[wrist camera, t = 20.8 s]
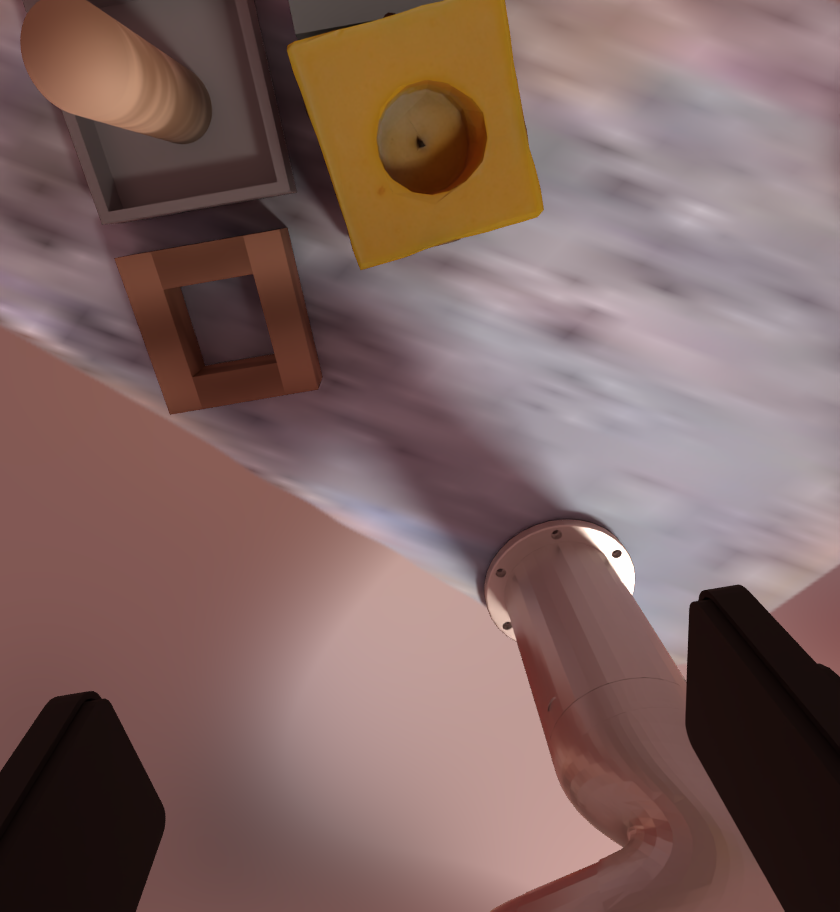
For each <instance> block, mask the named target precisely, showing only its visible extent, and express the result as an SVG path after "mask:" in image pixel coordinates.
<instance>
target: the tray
mask: <svg viewBox="0 0 840 912" xmlns="http://www.w3.org/2000/svg"><path fill="white" fill-rule="evenodd" d="M22 1H23V4H24V7H25V9H26V12H27V13H28V12H29V10H30V9H31V8H32V7H33V6H34V5H35V4H36V3H37V2H38V1H40V0H22ZM86 1H88V2H90V3H92V4H93V5H94V6H96V7H97V8H99V9H100V10H102V11H103V12H105V13H106V14H108V15H109V16H111V17H112V18H114V19H115V20H117V21H118V22H119V23H121V24H122V25H124V26H125V27H127V28H128V29H130V30H131V31H133V32H134V33H136V34H137V35H139V36H140V37H142V38H143V39H145V40H146V41H147V42H149V43H150V44H152V45H153V46H155V47H156V48H158V49H159V50H161V51H162V52H164V53H165V54H167V55H168V56H170V57H171V58H173V59H174V60H175V61H177V62H178V63H180V64H181V65H183V66H184V67H186V68H187V69H189V70H190V71H192V72H193V73H194V74H195V75H197V76H198V77H199V79H200V80H201V81H202V82H203V84H204V85H205V87H206V89H207V91H208V93H209V96H210V99H211V104H212V118H211V122H210V125H209V127H208V129H207V131H206V133H205V134H204V135H203V136H202V137H201V138H200V139H198V140H197V141H195V142H192V143H189V144H176V143H172V142H169V141H165V140H162V139H158V138H155V137H151V136H148V135H144V134H141V133H137V132H134V131H130V130H127V129H123V128H120V127H116V126H113V125H109V124H106V123H102V122H99V121H95V120H92V119H88V118H84V117H81V116H77V115H74V114H71V113H68V112H66V111H64V110H62V109H61V110H62V113H63V116H64V119H65V122H66V124H67V127H68V130H69V133H70V136H71V138H72V141H73V144H74V147H75V150H76V152H77V155H78V158H79V161H80V164H81V167H82V169H83V172H84V175H85V178H86V181H87V183H88V186H89V189H90V192H91V195H92V197H93V200H94V203H95V206H96V209H97V211H98V214H99V217H100V220H101V223H102V225H103V224H117V223H125V222H131V221H137V220H143V219H148V218H154V217H160V216H165V215H171V214H177V213H183V212H188V211H194V210H200V209H205V208H211V207H217V206H222V205H228V204H234V203H240V202H245V201H251V200H257V199H262V198H268V197H274V196H279V195H285V194H291V193H297V190H296V186H295V181H294V177H293V172H292V168H291V163H290V159H289V154H288V150H287V146H286V141H285V137H284V132H283V128H282V123H281V119H280V114H279V110H278V105H277V101H276V96H275V92H274V87H273V83H272V79H271V74H270V70H269V65H268V61H267V56H266V52H265V47H264V43H263V38H262V34H261V29H260V25H259V21H258V16H257V12H256V7H255V3H254V0H86Z"/></svg>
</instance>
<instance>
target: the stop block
mask: <svg viewBox="0 0 840 912" xmlns="http://www.w3.org/2000/svg"><path fill="white" fill-rule="evenodd" d="M288 1H289V6H290V11H291V16H292V21H293V25H294V30H295V35H296V37H297V38H298V40H301V39H305V38H309V37H313V36H316V35H320V34H323V33H326V32H330V31H333V30H337V29H343V28H348V27H352V26H356V25H360V24H364V23H368V22H372V21H375V20H378V19H382V18H383V17H384V15H385V14H387V13H388V12H390V13H395V14H398V13H401V12H404V11H407V10H410V9H413V8H416V7H419V6H422V5H426V4H431V3H435V2H440V1H444V0H288Z"/></svg>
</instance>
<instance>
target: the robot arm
mask: <svg viewBox="0 0 840 912" xmlns="http://www.w3.org/2000/svg"><path fill="white" fill-rule="evenodd" d="M634 585H635V571H634V565H633V563H632V560H631V557H630V555H629V553H628V552H627V550H626V549H625V547H624V546H623V544H622V543H621V542H620V541H619V540H618V539H617V538H616V537H615V536H614V535H613V534H612V533H610V532H609V531H607V530H606V529H605V528H602V527H600V526H598V525H596V524H593V523H590V522H585V521H581V520H566V519H563V520H555V521H549V522H545V523H542V524H538V525H535V526H533V527H531V528H529V529H527V530H524V531H522V532H521V533H519V534H518V535H516V536H515V537H514V538H512V539H511V540H509V541H508V542H507V543H506V544H505V545H504V546H503V547H502V548H501V549H500V550H499V552H498V553H497V554H496V556H495V557H494V559H493V560H492V562H491V564H490V566H489V569H488V571H487V574H486V579H485V583H484V596H485V600H486V605H487V609H488V611H489V614H490V617H491V619H492V620H493V621H494V623H495V625H496V626H497V627H498V629H500V630H501V631H502V632H503V633H504V634H505V635H506V636H508V637H509V638H511V639H513V640H514V641H516V642H517V644H518V648H519V651H520V654H521V657H522V661H523V664H524V668H525V671H526V674H527V677H528V681H529V684H530V688H531V691H532V694H533V698H534V701H535V704H536V707H537V711H538V714H539V717H540V721H541V724H542V728H543V731H544V734H545V738H546V741H547V744H548V748H549V751H550V754H551V758H552V761H553V765H554V768H555V771H556V774H557V777H558V780H559V782H560V784H561V787H562V789H563V791H564V792H565V794H566V796H567V798H568V799H569V800H570V802H571V803H572V804H573V805H574V807H575V808H576V809H577V811H578V812H579V813H580V814H581V815H582V816H583V817H584V818H585V819H586V820H587V821H589V823H590V824H592V825H593V826H594V827H595V828H596V829H598V830H599V831H600V832H602V833H603V834H604V835H606V836H607V837H609V838H610V839H611V840H613V841H614V842H616V843H617V844H619V845H620V846H622V847H623V848H622V849H621V850H619V851H617V852H615V853H613V854H611V855H609V856H607V857H605V858H602V859H600V860H599V862H597V863H594V864H592V865H590V866H588V867H585V868H583V869H580V870H578V871H576V872H573V873H571V874H569V875H566V876H564V877H562V878H559V879H557V880H554V881H552V882H550V883H547V884H545V885H543V886H540V887H538V888H536V889H534V890H531V891H529V892H526V893H525V894H523V895H521V896H518V897H516V898H514V899H511V900H509V901H507V902H505V903H503V904H502V905H500V906H498V907H496V908H494V909H493V910H491V911H490V912H840V677H839V676H838V675H837V674H836V673H835V672H834V671H832V670H831V669H830V668H828V667H826V666H824V665H822V664H817V663H816V662H815V661H814V660H813V659H812V658H811V657H810V656H809V655H808V654H807V653H806V652H805V651H804V650H803V649H802V647H801V646H799V644H798V643H797V642H796V641H795V640H794V639H793V638H792V637H791V636H790V635H789V633H788V632H787V631H786V630H785V629H784V628H783V627H782V626H781V625H780V624H779V623H778V622H777V621H776V620H775V619H774V618H773V616H772V615H771V614H770V613H769V612H768V611H767V610H766V609H765V608H764V607H763V606H762V605H761V604H760V603H759V601H758V600H757V599H756V598H755V597H754V596H753V595H752V594H751V593H750V592H749V591H748V590H747V589H746V588H745V587H743V586H741V585H733V586H727V587H721V588H715V589H709V590H704V591H701V593H700V595H699V600H698V601H695V602H692V603H691V604H690V608H689V631H688V658H687V682H686V680H685V679H684V677H683V675H682V674H681V672H680V671H679V669H678V668H677V666H676V664H675V663H674V661H673V659H672V658H671V656H670V655H669V653H668V651H667V650H666V648H665V647H664V645H663V643H662V642H661V640H660V639H659V637H658V636H657V634H656V632H655V631H654V629H653V628H652V626H651V624H650V623H649V621H648V620H647V618H646V616H645V615H644V613H643V612H642V610H641V609H640V607H639V605H638V604H637V602H636V601H635V599H634V597H633V596H632V594H633V591H634ZM164 828H165V810H164V807H163V804H162V802H161V800H160V799H159V797H158V795H157V793H156V791H155V789H154V787H153V785H152V783H151V781H150V779H149V777H148V775H147V773H146V771H145V769H144V767H143V765H142V763H141V761H140V759H139V758H138V755H137V753H136V751H135V750H134V748H133V746H132V744H131V742H130V740H129V738H128V736H127V734H126V732H125V730H124V728H123V726H122V724H121V722H120V720H119V718H118V716H117V714H116V712H115V710H114V709H113V706H112V705H111V703H110V702H109V700H107V699H101V697H100V696H99V694H97V693H96V692H94V691H89V692H82V693H76V694H70V695H64V696H57V697H54V698H53V699H51V700H50V701H49V702H48V703H47V704H46V705H45V707H44V708H43V710H42V711H41V712H40V714H39V715H38V717H37V718H36V720H35V721H34V723H33V724H32V726H31V727H30V729H29V730H28V732H27V733H26V735H25V736H24V738H23V739H22V741H21V742H20V744H19V745H18V747H17V748H16V749H15V751H14V752H13V754H12V756H11V757H10V758H9V760H8V761H7V763H6V764H5V766H4V767H3V769H2V770H1V772H0V912H136V909H137V906H138V903H139V901H140V898H141V895H142V892H143V889H144V886H145V884H146V881H147V878H148V875H149V872H150V869H151V867H152V864H153V861H154V858H155V855H156V852H157V850H158V847H159V844H160V841H161V838H162V835H163V832H164Z"/></svg>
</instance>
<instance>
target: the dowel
mask: <svg viewBox="0 0 840 912" xmlns="http://www.w3.org/2000/svg"><path fill="white" fill-rule="evenodd" d="M20 43H21V53H22V58H23V61H24V64H25V67H26V70H27V72H28V74H29V76H30V78H31V80H32V81H33V83H34V84H35V86H36V87H37V89H38V90H39V91H40V92H41V93H42V95H43V96H44V97H45V98H46V99H48V100H49V101H50V102H51V103H52V104H54V105H55V106H57V107H58V108H60V109H62V110H64V111H66V112H68V113H71V114H74V115H77V116H81V117H84V118H88V119H92V120H95V121H99V122H102V123H106V124H109V125H113V126H116V127H120V128H123V129H127V130H130V131H134V132H137V133H141V134H144V135H148V136H151V137H155V138H158V139H162V140H165V141H169V142H172V143H176V144H189V143H192V142H195V141H197V140H198V139H200V138H201V137H202V136H203V135H204V134H205V133H206V131H207V129H208V127H209V125H210V122H211V118H212V104H211V99H210V96H209V93H208V91H207V89H206V87H205V85H204V84H203V82H202V81H201V80H200V79H199V77H198V76H197V75H195V74H194V73H193V72H192V71H190V70H189V69H187V68H186V67H184V66H183V65H181V64H180V63H178V62H177V61H175V60H174V59H173V58H171V57H170V56H168V55H167V54H165V53H164V52H162V51H161V50H159V49H158V48H156V47H155V46H153V45H152V44H150V43H149V42H147V41H146V40H145V39H143V38H142V37H140V36H139V35H137V34H136V33H134V32H133V31H131V30H130V29H128V28H127V27H125V26H124V25H122V24H121V23H119V22H118V21H117V20H115V19H114V18H112V17H111V16H109V15H108V14H106V13H105V12H103V11H102V10H100V9H99V8H97V7H96V6H94V5H93V4H92V3H90V2H88V1H86V0H40V1H38V2H37V3H36V4H35V5H34V6H33V7H32V8H31V9H30V10H29V12H28V13H27V15H26V17H25V19H24V22H23V25H22V30H21V40H20Z"/></svg>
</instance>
